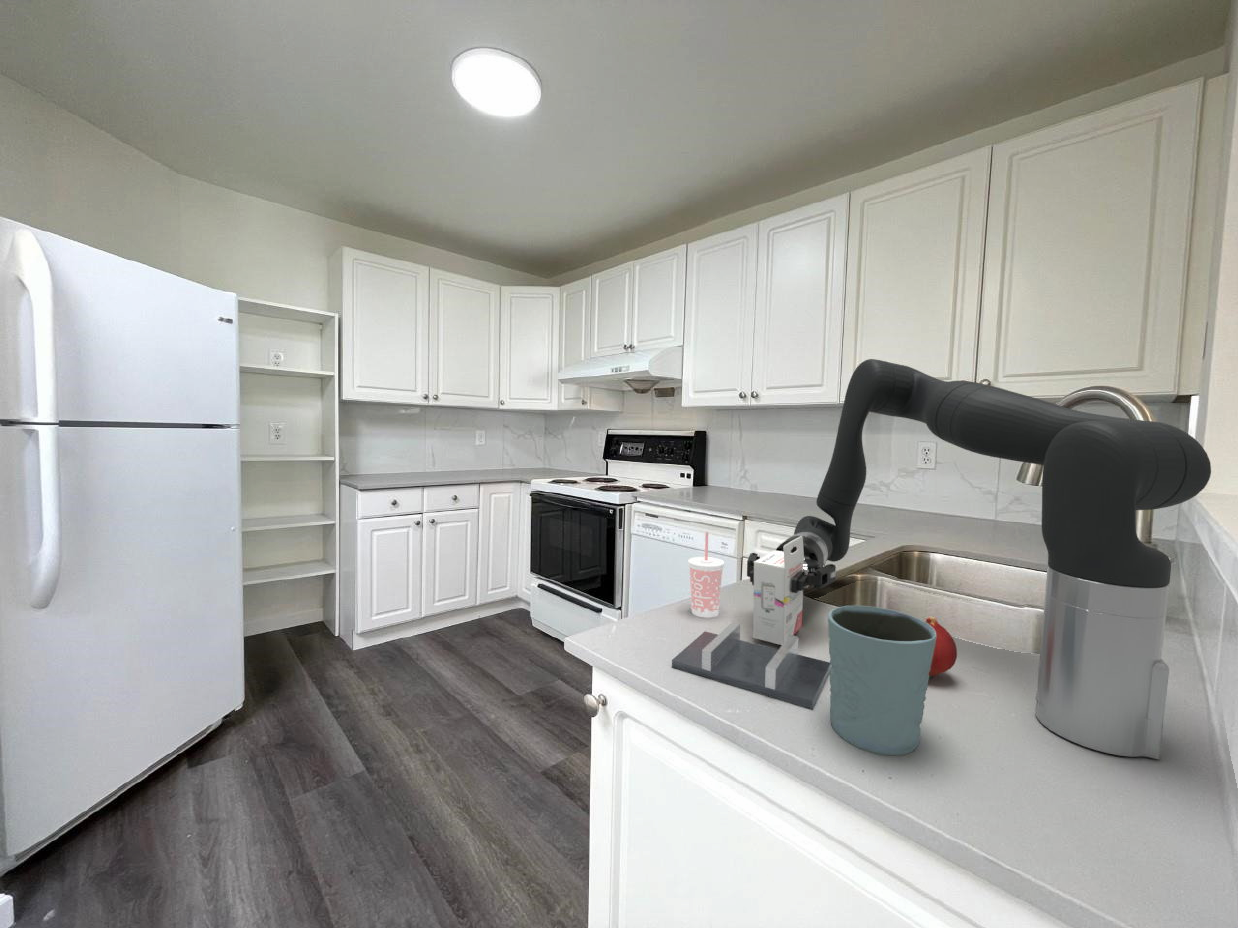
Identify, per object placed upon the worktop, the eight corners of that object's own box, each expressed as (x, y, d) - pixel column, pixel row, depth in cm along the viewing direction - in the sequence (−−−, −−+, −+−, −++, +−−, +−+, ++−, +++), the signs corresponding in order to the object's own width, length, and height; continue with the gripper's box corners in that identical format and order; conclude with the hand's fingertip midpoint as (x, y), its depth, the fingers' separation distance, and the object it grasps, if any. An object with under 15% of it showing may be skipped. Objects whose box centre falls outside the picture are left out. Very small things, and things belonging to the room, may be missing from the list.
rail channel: (830, 669, 68) (831, 644, 67) (812, 709, 58) (813, 680, 58) (704, 637, 77) (705, 615, 77) (671, 666, 68) (672, 641, 68)
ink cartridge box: (771, 619, 83) (774, 530, 81) (802, 627, 80) (805, 535, 78) (750, 637, 76) (753, 540, 74) (783, 646, 73) (786, 546, 71)
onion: (906, 660, 70) (909, 604, 70) (956, 673, 67) (959, 614, 66) (900, 678, 66) (904, 618, 65) (954, 692, 62) (958, 629, 62)
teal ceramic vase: (806, 725, 55) (811, 619, 54) (848, 693, 62) (853, 597, 61) (907, 775, 48) (915, 652, 47) (943, 731, 54) (950, 623, 53)
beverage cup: (679, 611, 88) (681, 531, 87) (703, 603, 92) (705, 527, 90) (706, 622, 83) (708, 538, 82) (730, 613, 87) (732, 533, 86)
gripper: (761, 530, 92) (727, 550, 78) (846, 540, 85) (826, 565, 70) (760, 570, 93) (726, 598, 79) (845, 584, 85) (824, 617, 71)
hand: (774, 582), depth 75 cm, fingers closed on ink cartridge box, 5 cm apart
